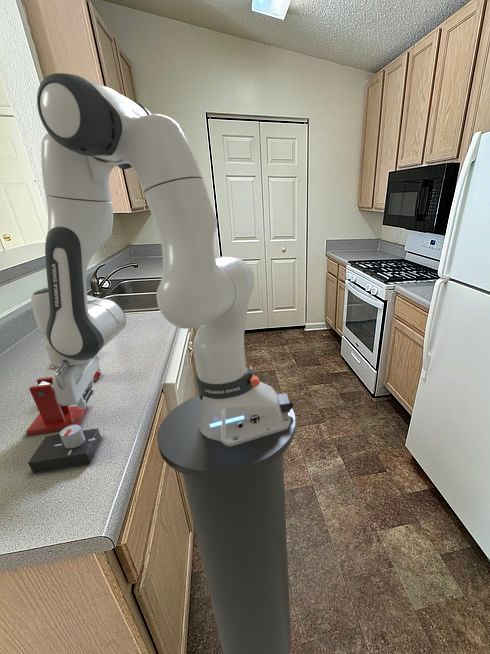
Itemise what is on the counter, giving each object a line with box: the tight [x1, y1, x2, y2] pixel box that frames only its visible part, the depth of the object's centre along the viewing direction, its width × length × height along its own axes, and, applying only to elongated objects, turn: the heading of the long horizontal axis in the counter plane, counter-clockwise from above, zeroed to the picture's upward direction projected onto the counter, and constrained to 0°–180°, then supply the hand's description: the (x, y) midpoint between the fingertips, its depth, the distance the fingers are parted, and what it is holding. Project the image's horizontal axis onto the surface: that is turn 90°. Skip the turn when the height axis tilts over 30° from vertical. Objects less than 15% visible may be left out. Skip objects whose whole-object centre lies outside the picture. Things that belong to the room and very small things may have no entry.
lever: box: [37, 381, 93, 403], centre depth 84 cm, size 11×5×2 cm, turn 105°
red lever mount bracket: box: [26, 376, 89, 436], centre depth 84 cm, size 11×9×12 cm
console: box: [27, 427, 102, 474], centre depth 75 cm, size 12×9×3 cm
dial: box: [59, 424, 85, 448], centre depth 74 cm, size 4×4×4 cm
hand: (87, 400), depth 87 cm, fingers closed on lever, 5 cm apart
